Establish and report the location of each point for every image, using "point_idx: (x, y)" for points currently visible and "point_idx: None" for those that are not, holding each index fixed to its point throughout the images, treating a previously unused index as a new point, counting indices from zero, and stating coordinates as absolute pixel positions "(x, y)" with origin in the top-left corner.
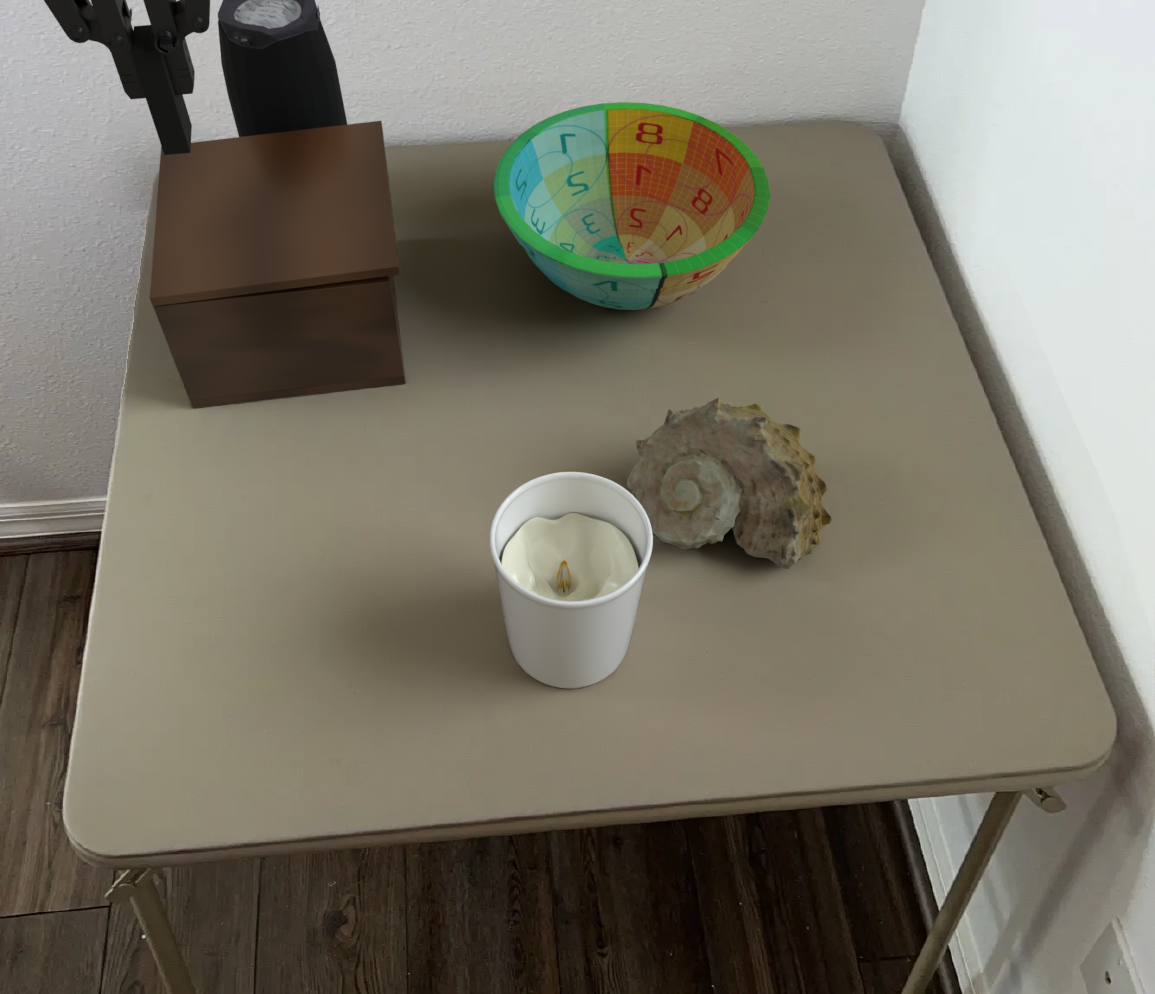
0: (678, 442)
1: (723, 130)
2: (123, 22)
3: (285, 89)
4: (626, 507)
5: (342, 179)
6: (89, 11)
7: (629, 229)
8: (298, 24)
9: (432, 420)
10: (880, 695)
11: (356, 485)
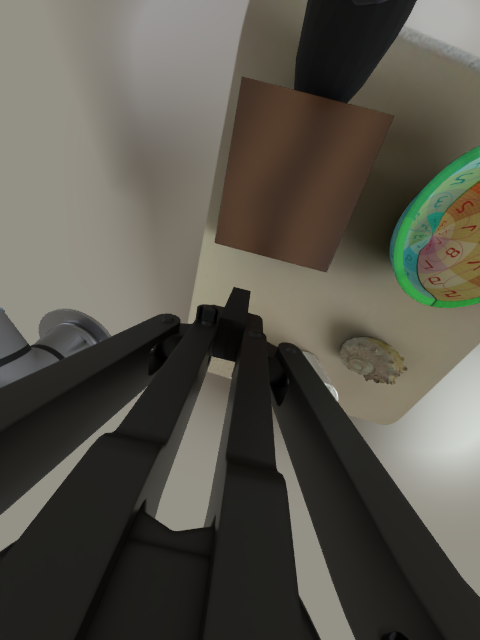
0: (368, 356)
1: None
2: (207, 368)
3: (349, 55)
4: (334, 391)
5: (336, 182)
6: (175, 345)
7: (453, 211)
8: None
9: (304, 281)
10: (357, 401)
11: (269, 298)
